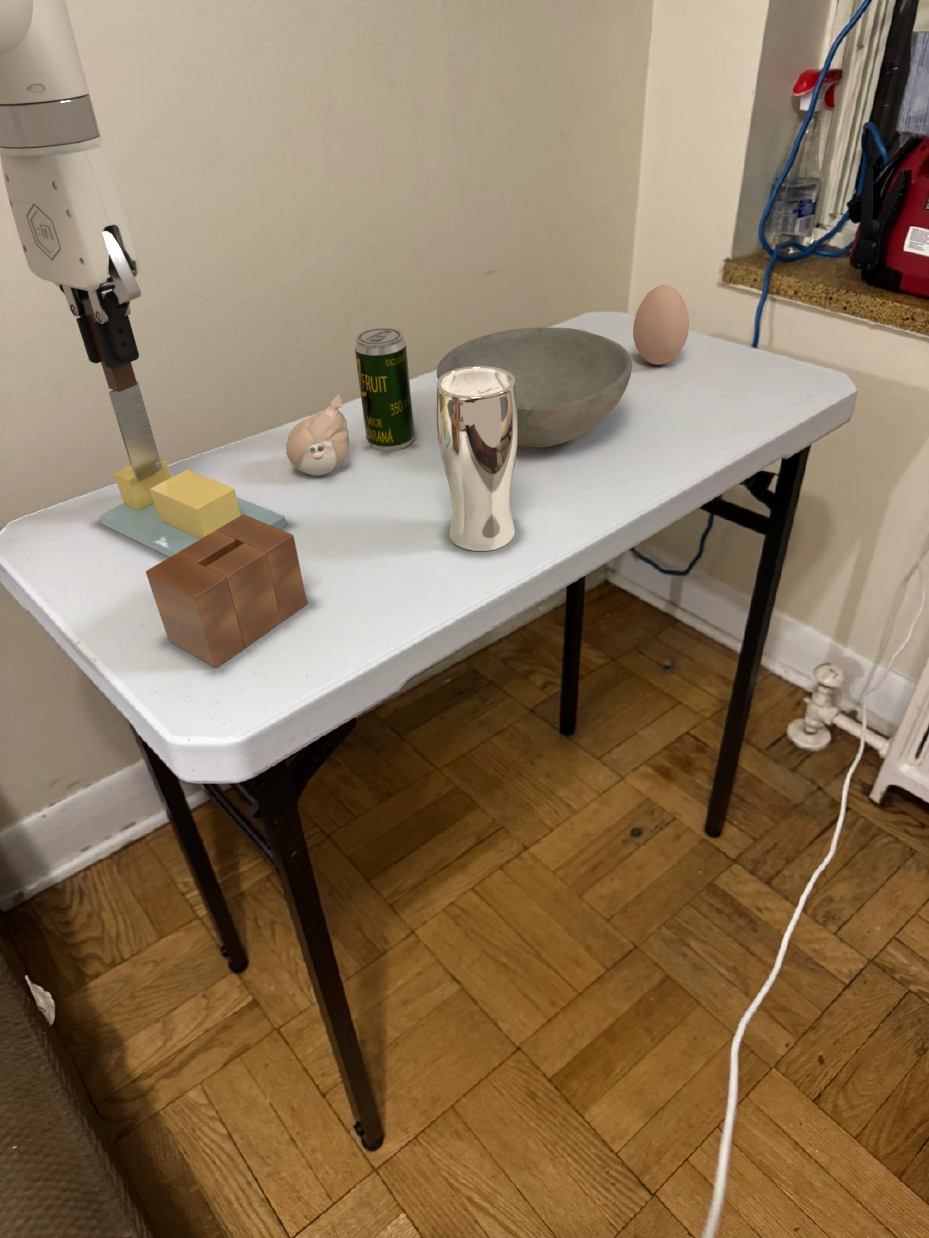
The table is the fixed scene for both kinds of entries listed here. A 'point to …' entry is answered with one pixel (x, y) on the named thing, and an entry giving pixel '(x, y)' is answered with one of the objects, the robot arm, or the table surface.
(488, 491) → the beer glass
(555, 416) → the bowl
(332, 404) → the garlic bulb
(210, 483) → the butter
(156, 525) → the butter dish
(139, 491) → the butter slice
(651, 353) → the egg
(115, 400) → the knife
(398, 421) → the green soda can
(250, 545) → the knife block
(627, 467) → the table surface
